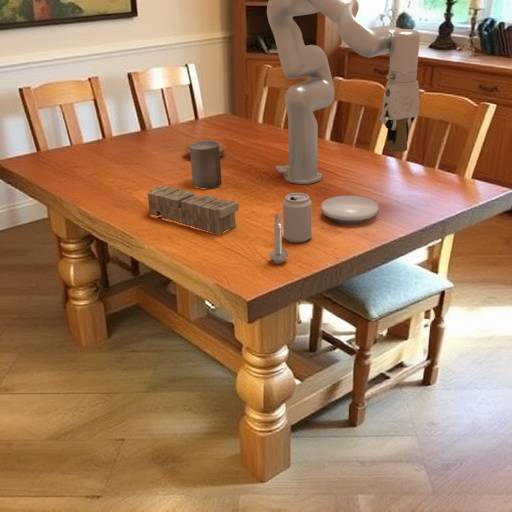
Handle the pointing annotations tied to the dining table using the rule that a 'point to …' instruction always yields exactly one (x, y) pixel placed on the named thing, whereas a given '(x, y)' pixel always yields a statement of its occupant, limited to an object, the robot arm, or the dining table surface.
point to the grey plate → (349, 209)
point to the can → (297, 217)
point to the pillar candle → (205, 164)
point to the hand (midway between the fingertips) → (397, 140)
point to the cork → (399, 137)
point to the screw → (278, 243)
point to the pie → (221, 146)
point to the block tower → (193, 209)
